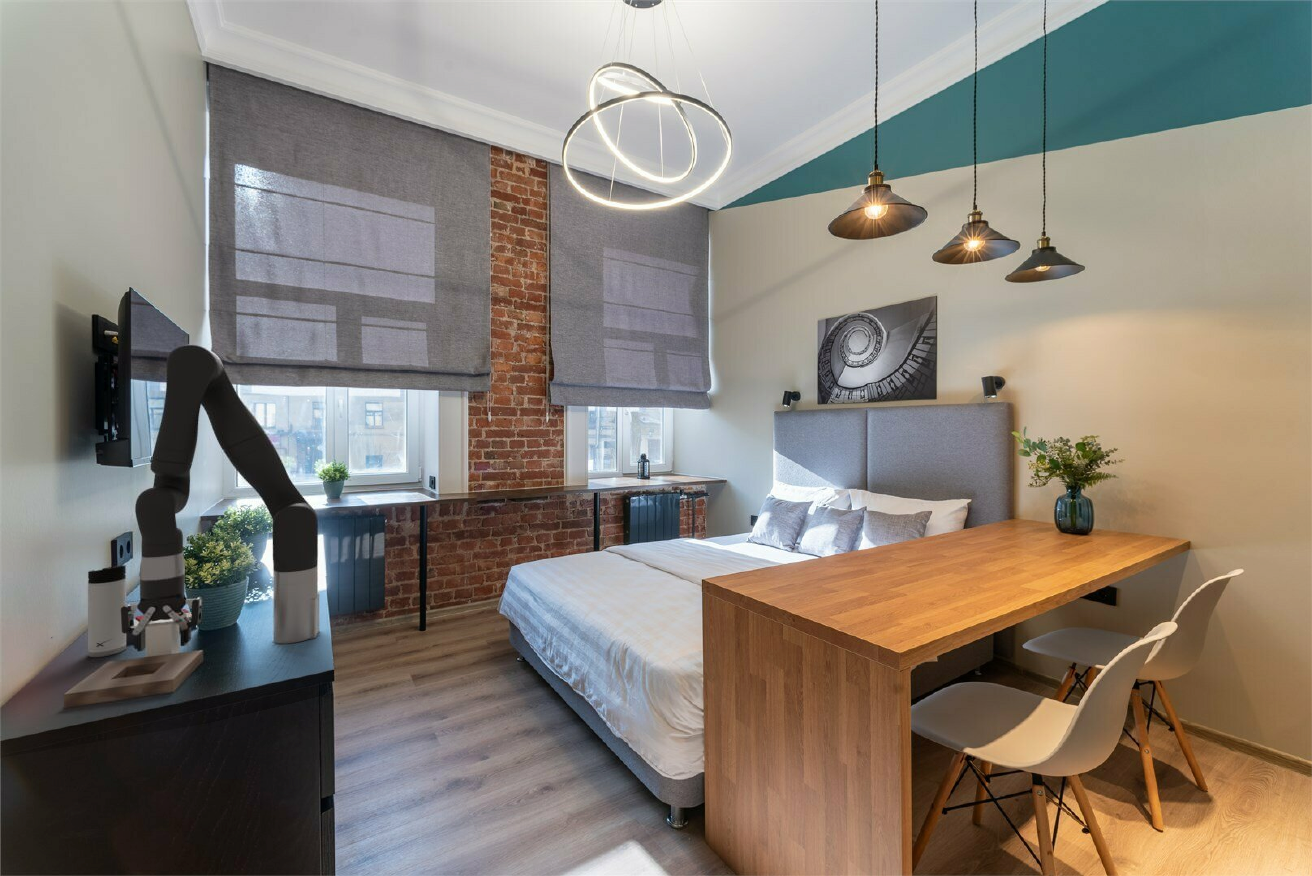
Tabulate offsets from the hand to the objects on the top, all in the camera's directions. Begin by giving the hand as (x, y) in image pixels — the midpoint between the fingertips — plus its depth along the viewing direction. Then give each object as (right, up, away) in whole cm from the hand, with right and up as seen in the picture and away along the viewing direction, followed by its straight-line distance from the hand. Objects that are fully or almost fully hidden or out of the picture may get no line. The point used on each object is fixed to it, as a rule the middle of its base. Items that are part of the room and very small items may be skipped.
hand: (162, 647), depth 124 cm
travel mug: (-15, -3, +3) cm, 16 cm away
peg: (0, -2, 0) cm, 2 cm away
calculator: (-17, -3, +17) cm, 24 cm away
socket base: (+7, -2, -12) cm, 14 cm away
